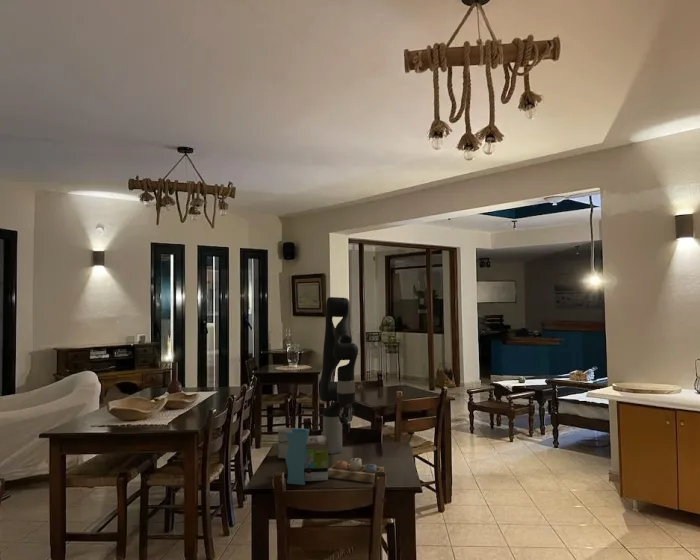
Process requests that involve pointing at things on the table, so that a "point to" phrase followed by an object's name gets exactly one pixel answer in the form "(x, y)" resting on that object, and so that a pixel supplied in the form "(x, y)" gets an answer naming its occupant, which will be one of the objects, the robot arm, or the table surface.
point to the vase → (296, 455)
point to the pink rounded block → (341, 465)
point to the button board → (353, 473)
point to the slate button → (370, 468)
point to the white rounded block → (355, 464)
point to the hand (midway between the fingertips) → (346, 433)
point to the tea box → (316, 459)
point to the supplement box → (283, 442)
